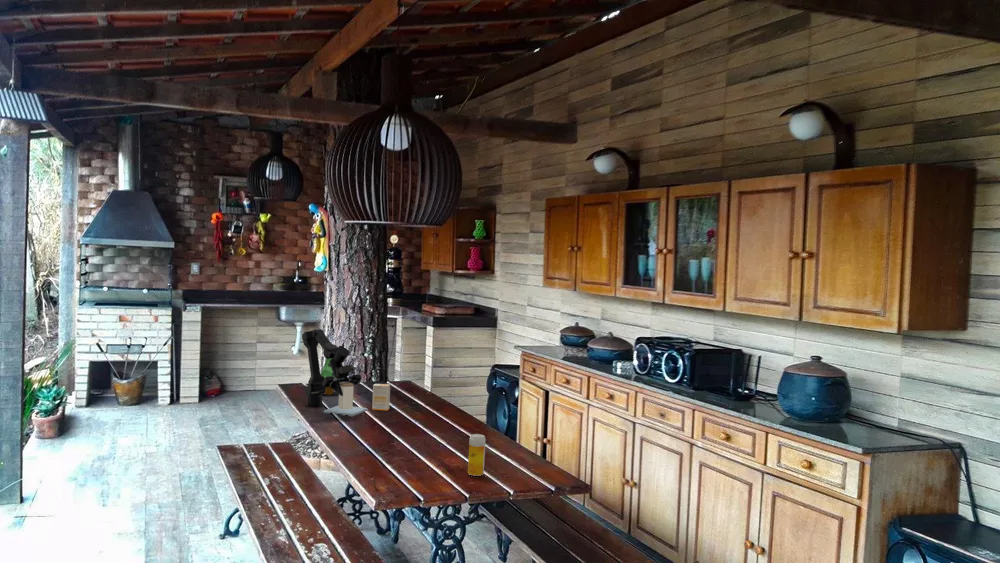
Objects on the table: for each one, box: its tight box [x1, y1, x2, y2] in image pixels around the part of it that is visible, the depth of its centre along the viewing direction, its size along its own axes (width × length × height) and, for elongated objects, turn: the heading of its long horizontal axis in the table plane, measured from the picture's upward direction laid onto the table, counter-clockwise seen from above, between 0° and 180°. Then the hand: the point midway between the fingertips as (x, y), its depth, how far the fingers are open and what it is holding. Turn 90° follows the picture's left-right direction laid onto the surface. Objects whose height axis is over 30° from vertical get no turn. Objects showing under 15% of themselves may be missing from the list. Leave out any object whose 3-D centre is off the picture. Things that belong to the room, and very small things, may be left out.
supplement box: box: [371, 383, 391, 412], centre depth 375 cm, size 8×5×13 cm, turn 84°
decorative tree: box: [320, 358, 335, 396], centre depth 406 cm, size 14×16×30 cm
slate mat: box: [323, 405, 369, 417], centre depth 367 cm, size 16×16×1 cm
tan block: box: [337, 382, 355, 410], centre depth 350 cm, size 5×5×12 cm
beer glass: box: [467, 433, 487, 477], centre depth 274 cm, size 6×6×15 cm
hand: (347, 395), depth 349 cm, fingers closed on tan block, 5 cm apart
